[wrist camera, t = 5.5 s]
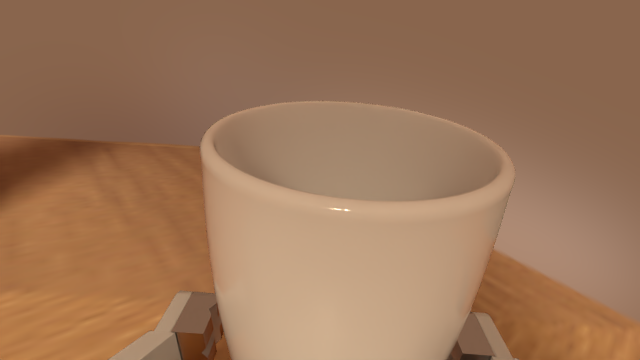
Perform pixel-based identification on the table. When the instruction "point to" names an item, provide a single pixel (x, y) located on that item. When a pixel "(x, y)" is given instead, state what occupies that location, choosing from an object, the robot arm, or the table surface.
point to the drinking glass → (348, 229)
